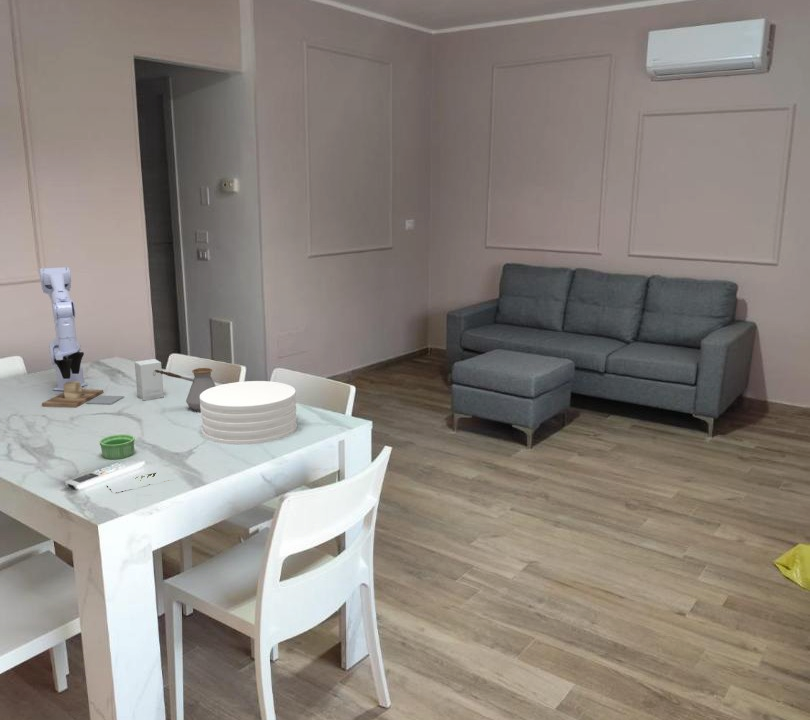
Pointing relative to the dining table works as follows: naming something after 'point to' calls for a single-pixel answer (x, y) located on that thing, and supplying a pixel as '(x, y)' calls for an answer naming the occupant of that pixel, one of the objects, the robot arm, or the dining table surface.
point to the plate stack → (248, 412)
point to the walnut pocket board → (67, 402)
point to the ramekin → (117, 446)
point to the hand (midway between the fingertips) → (71, 376)
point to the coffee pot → (195, 385)
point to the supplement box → (149, 379)
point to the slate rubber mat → (105, 400)
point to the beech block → (72, 390)
